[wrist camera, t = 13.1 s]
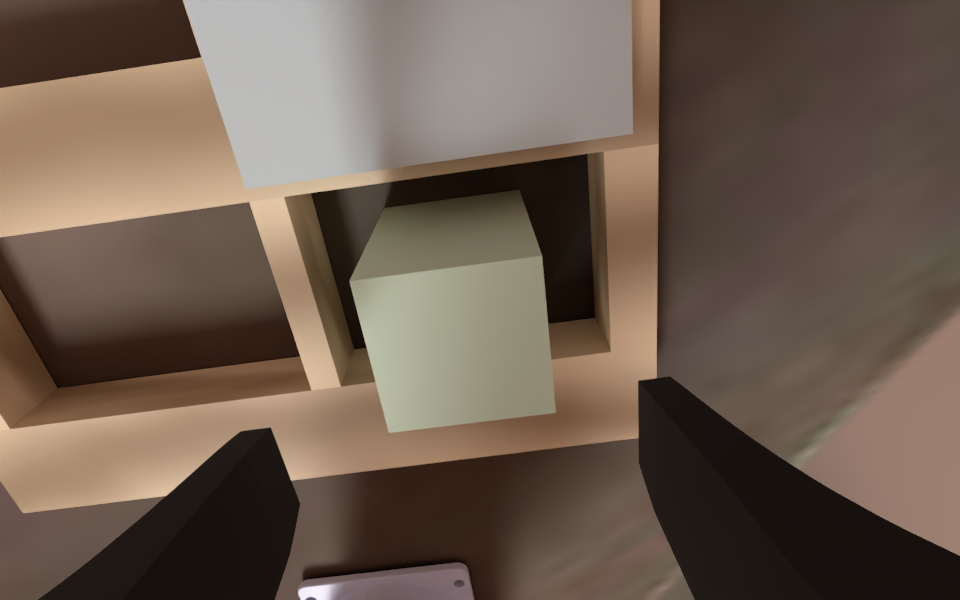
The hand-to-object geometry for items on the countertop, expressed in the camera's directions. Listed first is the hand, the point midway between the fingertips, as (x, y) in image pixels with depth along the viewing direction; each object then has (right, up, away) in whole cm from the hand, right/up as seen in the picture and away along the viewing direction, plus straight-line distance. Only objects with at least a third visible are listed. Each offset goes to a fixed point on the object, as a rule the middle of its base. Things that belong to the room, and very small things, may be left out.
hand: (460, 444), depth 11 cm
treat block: (0, +4, +8) cm, 9 cm away
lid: (-1, +10, +2) cm, 10 cm away
